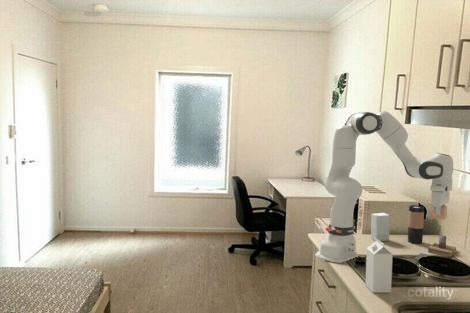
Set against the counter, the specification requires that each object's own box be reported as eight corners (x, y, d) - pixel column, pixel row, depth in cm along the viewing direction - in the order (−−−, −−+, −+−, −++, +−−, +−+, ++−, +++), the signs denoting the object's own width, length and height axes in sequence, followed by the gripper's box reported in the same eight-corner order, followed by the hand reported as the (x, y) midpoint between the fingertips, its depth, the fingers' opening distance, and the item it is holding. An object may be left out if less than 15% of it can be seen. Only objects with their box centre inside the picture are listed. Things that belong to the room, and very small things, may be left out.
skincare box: (383, 237, 208) (384, 212, 207) (389, 241, 202) (390, 214, 201) (370, 238, 206) (370, 212, 205) (376, 241, 201) (376, 215, 200)
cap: (444, 219, 178) (445, 207, 177) (432, 217, 181) (433, 206, 181) (446, 218, 181) (447, 206, 181) (435, 216, 185) (436, 204, 184)
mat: (437, 264, 166) (437, 263, 166) (413, 259, 173) (413, 258, 173) (443, 258, 174) (443, 257, 174) (420, 253, 181) (420, 253, 181)
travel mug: (425, 244, 196) (427, 208, 195) (411, 244, 196) (412, 208, 195) (418, 240, 204) (420, 205, 202) (404, 240, 204) (406, 205, 203)
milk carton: (382, 284, 144) (384, 238, 143) (391, 292, 137) (393, 243, 136) (365, 285, 144) (366, 238, 142) (372, 293, 137) (374, 243, 135)
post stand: (450, 256, 177) (451, 240, 177) (428, 252, 184) (428, 236, 183) (456, 250, 186) (456, 235, 185) (434, 246, 193) (435, 231, 192)
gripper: (439, 183, 190) (438, 209, 191) (429, 187, 175) (427, 215, 176) (453, 184, 186) (451, 211, 187) (443, 188, 170) (442, 217, 171)
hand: (439, 213), depth 181 cm, fingers closed on cap, 5 cm apart
